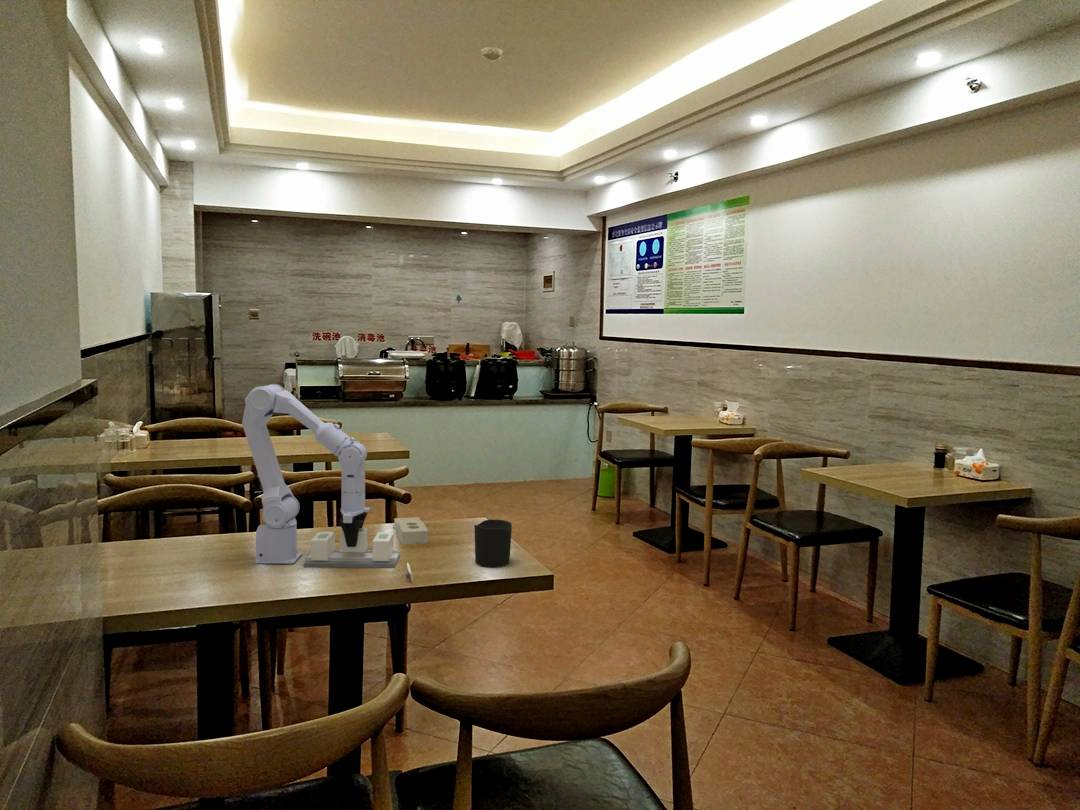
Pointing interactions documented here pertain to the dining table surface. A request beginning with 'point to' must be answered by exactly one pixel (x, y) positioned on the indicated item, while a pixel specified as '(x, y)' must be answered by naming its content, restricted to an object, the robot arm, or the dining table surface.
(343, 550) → the block
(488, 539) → the pen holder
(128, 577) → the dining table surface
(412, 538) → the electrical outlet
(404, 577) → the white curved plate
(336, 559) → the grey stepped base
